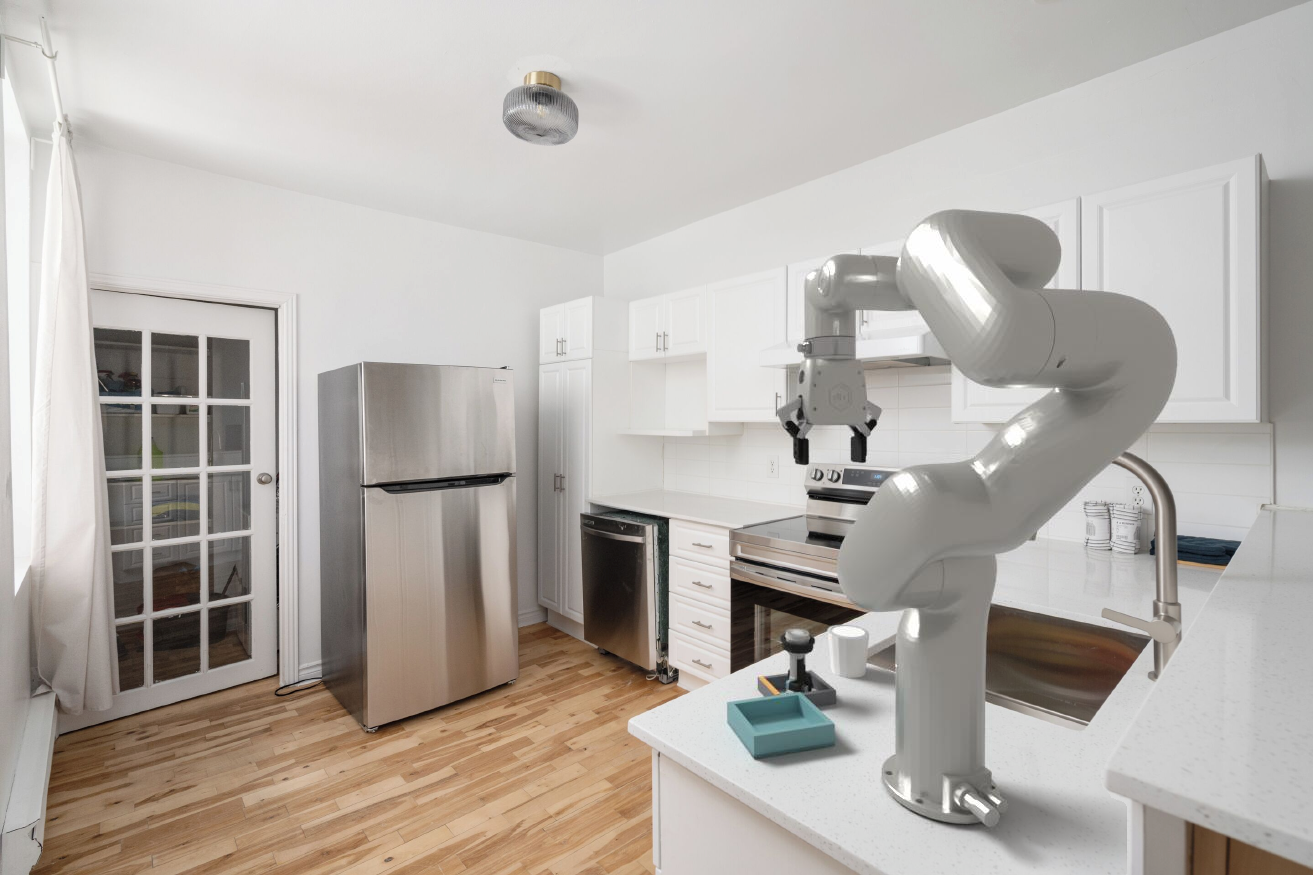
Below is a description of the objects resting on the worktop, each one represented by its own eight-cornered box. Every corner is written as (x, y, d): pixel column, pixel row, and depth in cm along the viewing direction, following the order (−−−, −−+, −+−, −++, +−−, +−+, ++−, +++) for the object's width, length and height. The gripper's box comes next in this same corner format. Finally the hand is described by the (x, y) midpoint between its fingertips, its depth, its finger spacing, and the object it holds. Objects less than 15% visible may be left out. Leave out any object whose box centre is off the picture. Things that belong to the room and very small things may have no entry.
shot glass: (839, 659, 109) (839, 621, 108) (876, 670, 104) (876, 630, 103) (819, 671, 104) (819, 631, 103) (857, 683, 99) (857, 641, 99)
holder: (836, 703, 92) (836, 688, 92) (778, 711, 90) (778, 696, 90) (811, 681, 100) (811, 668, 99) (757, 689, 97) (757, 675, 97)
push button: (801, 709, 90) (800, 643, 90) (770, 698, 94) (769, 635, 94) (821, 693, 95) (820, 631, 95) (790, 684, 99) (790, 624, 99)
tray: (834, 745, 80) (834, 723, 80) (754, 758, 78) (753, 736, 77) (800, 711, 90) (800, 691, 90) (727, 722, 87) (727, 702, 87)
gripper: (789, 348, 86) (790, 467, 87) (894, 349, 90) (894, 463, 91) (767, 353, 93) (768, 463, 94) (865, 354, 98) (865, 459, 98)
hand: (830, 463), depth 92 cm, fingers open, 9 cm apart
